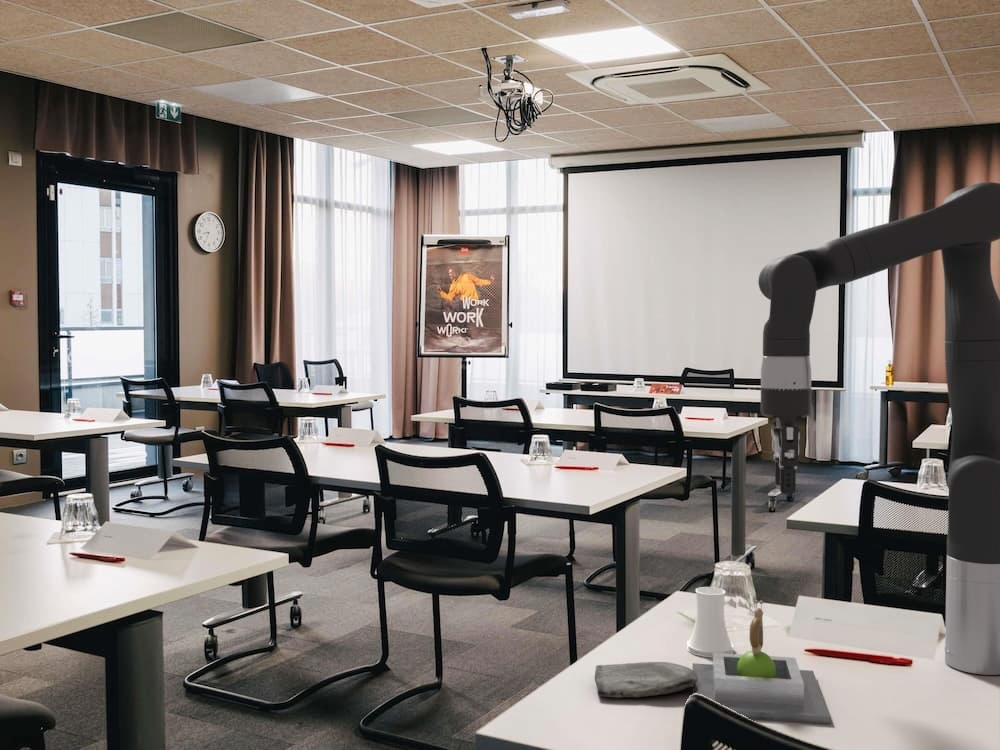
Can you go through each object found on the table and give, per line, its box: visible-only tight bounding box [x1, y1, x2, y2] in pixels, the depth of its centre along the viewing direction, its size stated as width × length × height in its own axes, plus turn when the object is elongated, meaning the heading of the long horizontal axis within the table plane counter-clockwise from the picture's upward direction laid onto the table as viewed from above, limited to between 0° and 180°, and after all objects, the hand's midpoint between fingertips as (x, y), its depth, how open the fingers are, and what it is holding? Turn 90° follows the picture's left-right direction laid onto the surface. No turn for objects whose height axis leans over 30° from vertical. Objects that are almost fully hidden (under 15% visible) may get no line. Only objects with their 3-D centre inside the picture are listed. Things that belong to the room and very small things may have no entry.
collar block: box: [692, 653, 831, 725], centre depth 139 cm, size 18×18×4 cm
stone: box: [594, 661, 698, 699], centre depth 141 cm, size 11×4×15 cm
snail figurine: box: [737, 599, 776, 678], centre depth 139 cm, size 5×6×12 cm
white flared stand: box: [686, 586, 734, 658], centre depth 158 cm, size 8×8×10 cm
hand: (784, 489), depth 149 cm, fingers open, 8 cm apart
